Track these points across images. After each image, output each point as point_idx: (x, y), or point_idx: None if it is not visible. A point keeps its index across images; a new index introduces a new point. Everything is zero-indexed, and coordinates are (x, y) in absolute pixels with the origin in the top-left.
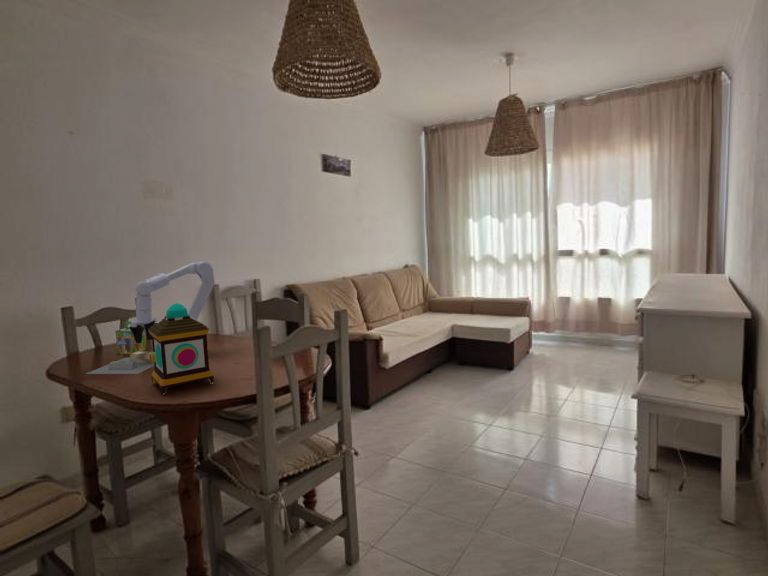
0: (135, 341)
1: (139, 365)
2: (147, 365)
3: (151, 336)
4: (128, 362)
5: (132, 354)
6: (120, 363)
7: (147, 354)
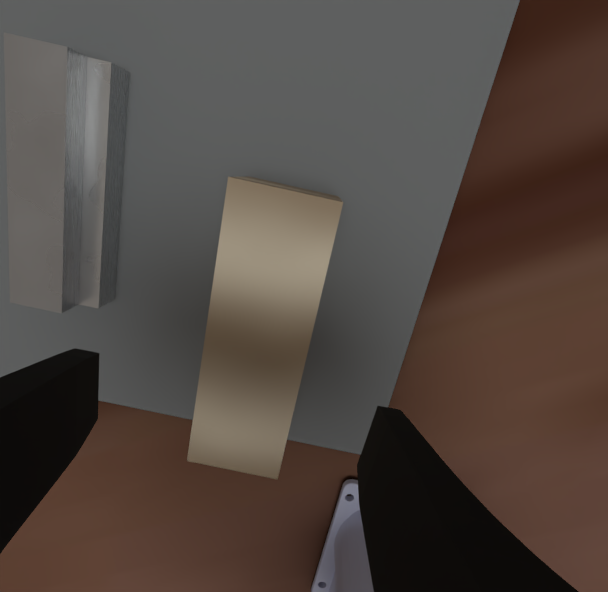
0: (52, 357)
1: (156, 292)
2: (148, 357)
3: (363, 513)
4: (10, 259)
5: (225, 207)
6: (14, 171)
7: (200, 375)
